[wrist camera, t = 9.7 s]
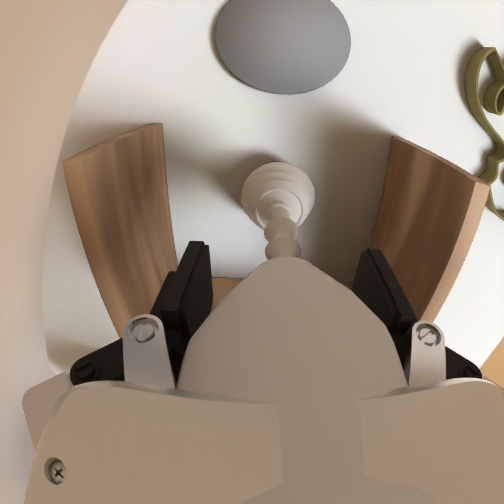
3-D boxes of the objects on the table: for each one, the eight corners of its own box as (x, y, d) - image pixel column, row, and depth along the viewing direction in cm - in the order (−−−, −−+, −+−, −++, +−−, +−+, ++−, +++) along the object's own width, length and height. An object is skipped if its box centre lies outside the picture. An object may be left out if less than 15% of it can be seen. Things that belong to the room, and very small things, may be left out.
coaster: (348, -6, 11) (350, -9, 11) (345, 101, 16) (347, 101, 16) (218, -15, 11) (217, -18, 11) (215, 93, 16) (214, 93, 16)
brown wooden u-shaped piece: (405, 139, 17) (490, 186, 9) (366, 292, 25) (395, 377, 17) (147, 124, 18) (62, 161, 9) (169, 284, 26) (135, 368, 17)
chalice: (329, 145, 16) (530, 458, 1) (330, 236, 20) (397, 508, 5) (216, 156, 17) (46, 483, 2) (233, 244, 21) (185, 518, 6)
